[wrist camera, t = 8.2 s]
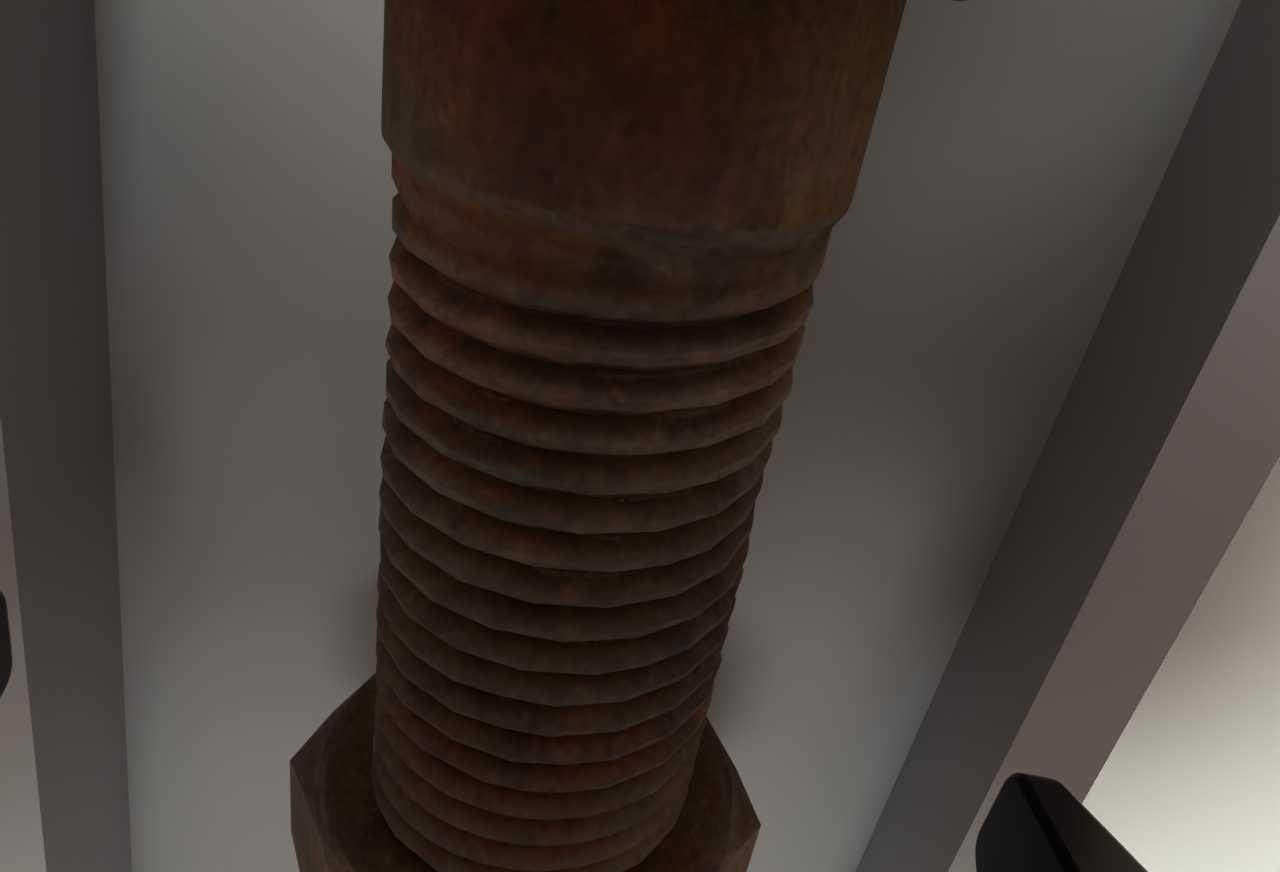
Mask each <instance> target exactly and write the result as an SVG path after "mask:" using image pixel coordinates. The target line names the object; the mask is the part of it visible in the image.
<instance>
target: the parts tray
mask: <svg viewBox="0 0 1280 872" xmlns="http://www.w3.org/2000/svg"><path fill="white" fill-rule="evenodd" d="M384 1H385V0H0V591H1V592H2V593H3V594H4V596H5V598H6V603H7V610H8V619H9V628H10V638H11V647H12V657H13V664H12V671H11V675H10V679H9V681H8V684H7V686H6V688H5V690H4V692H3V694H2V696H1V698H0V872H300V871H299V866H298V862H297V857H296V852H295V848H294V843H293V838H292V834H291V809H290V760H291V758H292V757H293V756H294V755H295V754H296V753H297V752H298V751H299V749H300V748H301V747H302V746H303V745H304V744H305V743H306V742H307V740H308V739H309V738H310V737H311V736H312V735H313V734H314V732H315V731H316V730H317V729H318V728H319V727H320V726H321V725H322V723H323V722H324V721H325V720H326V719H327V718H328V717H329V716H330V714H331V713H332V712H333V711H334V710H335V709H336V708H338V707H339V706H340V705H341V704H342V703H343V702H344V701H345V700H346V699H347V698H348V697H350V696H351V695H352V694H353V693H354V692H355V691H356V690H357V689H358V688H359V687H360V686H362V685H363V684H364V683H365V682H366V681H367V680H368V679H369V678H370V677H371V676H372V675H374V674H375V673H376V664H377V656H376V638H377V616H376V610H377V603H378V596H379V593H378V589H377V581H378V571H379V564H380V562H381V552H380V531H379V528H378V524H379V514H380V505H381V502H380V496H379V490H380V485H381V481H382V477H383V472H382V466H381V460H380V457H381V452H382V448H383V444H384V440H385V436H386V434H385V432H384V429H383V427H382V418H383V408H384V401H385V400H386V399H387V396H386V363H387V361H388V360H389V359H390V357H389V354H388V352H387V350H386V347H385V343H386V338H387V335H388V332H389V329H390V326H391V317H390V310H389V304H388V298H387V297H388V295H389V292H390V290H391V287H392V284H393V282H394V280H393V279H392V273H391V267H390V261H389V254H390V252H391V249H392V247H393V244H394V242H395V239H396V237H397V235H396V234H395V232H394V231H393V229H392V198H393V197H394V196H395V195H396V194H398V190H397V188H396V186H395V184H394V181H393V179H392V177H391V167H392V152H391V151H390V149H389V147H388V146H387V144H386V142H385V141H384V139H383V138H382V132H381V106H382V71H383V36H384ZM813 301H814V303H813V305H812V308H811V310H810V312H809V315H808V317H807V320H806V322H805V323H804V326H805V328H806V329H805V334H804V338H803V342H802V345H801V348H800V350H799V353H798V356H797V359H796V362H795V363H794V364H793V385H792V388H791V392H790V395H789V396H788V397H787V398H786V399H785V400H784V401H783V403H782V422H781V425H780V428H779V431H778V432H777V434H776V435H775V436H774V437H773V447H772V452H771V455H770V458H769V460H768V462H767V464H766V466H765V468H764V475H763V484H762V487H761V490H760V492H759V494H758V496H757V498H756V500H755V508H754V517H753V525H752V529H751V533H750V535H749V550H748V554H747V558H746V560H745V562H744V564H743V570H744V571H743V575H742V579H741V581H740V584H739V587H738V589H737V592H736V594H735V597H736V602H735V607H734V609H733V612H732V614H731V617H730V620H729V622H728V627H729V629H728V634H727V637H726V639H725V642H724V645H723V647H722V650H721V657H722V661H721V664H720V666H719V669H718V671H717V674H716V677H715V679H714V689H713V693H712V698H711V703H710V706H709V708H708V710H707V718H708V720H709V721H710V723H711V725H712V727H713V728H714V730H715V732H716V734H717V736H718V737H719V739H720V741H721V743H722V744H723V746H724V748H725V750H726V751H727V753H728V755H729V757H730V758H731V760H732V762H733V764H734V765H735V767H736V769H737V771H738V774H739V776H740V778H741V780H742V783H743V785H744V787H745V790H746V792H747V794H748V796H749V799H750V801H751V803H752V806H753V808H754V810H755V812H756V815H757V817H758V819H759V821H760V824H761V827H760V831H759V834H758V837H757V840H756V843H755V847H754V850H753V853H752V856H751V859H750V863H749V866H748V869H747V872H976V863H975V846H976V840H977V836H978V833H979V830H980V828H981V826H982V824H983V822H984V820H985V818H986V816H987V814H988V812H989V810H990V808H991V807H992V805H993V803H994V801H995V799H996V797H997V795H998V793H999V791H1000V789H1001V787H1002V785H1003V783H1004V782H1005V780H1006V779H1007V778H1008V777H1009V776H1010V775H1012V774H1013V773H1026V774H1031V775H1037V776H1042V777H1048V778H1052V779H1055V780H1057V781H1059V782H1060V783H1061V784H1062V785H1064V786H1065V787H1066V788H1067V789H1068V790H1069V791H1070V792H1071V793H1072V794H1073V795H1074V796H1075V797H1076V798H1077V800H1078V801H1079V802H1080V803H1081V804H1082V802H1083V800H1084V799H1085V797H1086V795H1087V793H1088V792H1089V790H1090V788H1091V786H1092V785H1093V783H1094V781H1095V779H1096V778H1097V776H1098V774H1099V772H1100V771H1101V769H1102V767H1103V765H1104V764H1105V762H1106V760H1107V758H1108V757H1109V755H1110V753H1111V751H1112V749H1113V748H1114V746H1115V744H1116V742H1117V741H1118V739H1119V737H1120V735H1121V734H1122V732H1123V730H1124V728H1125V727H1126V725H1127V723H1128V721H1129V720H1130V718H1131V716H1132V714H1133V713H1134V711H1135V709H1136V707H1137V706H1138V704H1139V702H1140V700H1141V699H1142V697H1143V695H1144V693H1145V691H1146V690H1147V688H1148V686H1149V684H1150V683H1151V681H1152V679H1153V677H1154V676H1155V674H1156V672H1157V670H1158V669H1159V667H1160V665H1161V663H1162V662H1163V660H1164V658H1165V656H1166V655H1167V653H1168V651H1169V649H1170V648H1171V646H1172V644H1173V642H1174V640H1175V639H1176V637H1177V635H1178V633H1179V632H1180V630H1181V628H1182V626H1183V625H1184V623H1185V621H1186V619H1187V618H1188V616H1189V614H1190V612H1191V611H1192V609H1193V607H1194V605H1195V604H1196V602H1197V600H1198V598H1199V597H1200V595H1201V593H1202V591H1203V590H1204V588H1205V586H1206V584H1207V582H1208V581H1209V579H1210V577H1211V575H1212V574H1213V572H1214V570H1215V568H1216V567H1217V565H1218V563H1219V561H1220V560H1221V558H1222V556H1223V554H1224V553H1225V551H1226V549H1227V547H1228V546H1229V544H1230V542H1231V540H1232V539H1233V537H1234V535H1235V533H1236V531H1237V530H1238V528H1239V526H1240V524H1241V523H1242V521H1243V519H1244V517H1245V516H1246V514H1247V512H1248V510H1249V509H1250V507H1251V505H1252V503H1253V502H1254V500H1255V498H1256V496H1257V495H1258V493H1259V491H1260V489H1261V488H1262V486H1263V484H1264V482H1265V481H1266V479H1267V477H1268V475H1269V473H1270V472H1271V470H1272V468H1273V466H1274V465H1275V463H1276V461H1277V459H1278V458H1279V456H1280V0H968V1H961V2H958V1H951V0H907V1H906V5H905V8H904V12H903V16H902V19H901V23H900V27H899V31H898V34H897V38H896V42H895V45H894V49H893V53H892V56H891V60H890V64H889V67H888V71H887V75H886V78H885V82H884V86H883V90H882V93H881V97H880V101H879V104H878V108H877V112H876V115H875V119H874V123H873V126H872V130H871V134H870V137H869V141H868V145H867V149H866V152H865V156H864V160H863V163H862V167H861V171H860V174H859V178H858V182H857V185H856V189H855V193H854V196H853V200H852V203H851V205H850V207H849V209H848V211H847V213H846V214H845V215H844V216H843V217H842V218H841V219H840V220H839V221H838V222H837V223H836V224H835V225H834V226H833V227H832V231H831V235H830V239H829V243H828V247H827V250H826V254H825V258H824V262H823V266H822V268H821V270H820V272H819V275H818V277H817V279H816V280H815V281H814V282H813Z"/></svg>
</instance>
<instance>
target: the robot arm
mask: <svg viewBox="0 0 1280 872" xmlns="http://www.w3.org/2000/svg"><path fill="white" fill-rule="evenodd" d="M12 664H13V657H12V647H11V638H10V628H9V619H8V610H7V603H6V598H5V596H4V594H3V593H2V592H1V591H0V698H1V696H2V694H3V692H4V690H5V688H6V686H7V684H8V681H9V679H10V675H11V671H12ZM975 863H976V872H1148V871H1147V870H1146V869H1145V868H1144V867H1143V866H1142V865H1141V864H1140V863H1139V862H1138V861H1137V860H1136V859H1135V858H1134V857H1133V856H1132V855H1131V854H1130V853H1129V852H1128V851H1127V850H1126V849H1125V848H1124V847H1123V846H1122V845H1121V844H1120V843H1119V842H1118V841H1117V840H1116V839H1115V837H1114V836H1113V835H1112V834H1111V833H1110V832H1109V831H1108V830H1107V829H1106V828H1105V827H1104V826H1103V825H1102V824H1101V823H1100V822H1099V821H1098V820H1097V819H1096V818H1095V817H1094V816H1093V815H1092V814H1091V813H1090V812H1089V811H1088V810H1087V809H1086V808H1085V807H1084V806H1083V805H1082V804H1081V803H1080V802H1079V801H1078V800H1077V798H1076V797H1075V796H1074V795H1073V794H1072V793H1071V792H1070V791H1069V790H1068V789H1067V788H1066V787H1065V786H1064V785H1062V784H1061V783H1060V782H1059V781H1057V780H1055V779H1052V778H1048V777H1042V776H1037V775H1031V774H1026V773H1013V774H1012V775H1010V776H1009V777H1008V778H1007V779H1006V780H1005V782H1004V783H1003V785H1002V787H1001V789H1000V791H999V793H998V795H997V797H996V799H995V801H994V803H993V805H992V807H991V808H990V810H989V812H988V814H987V816H986V818H985V820H984V822H983V824H982V826H981V828H980V830H979V833H978V836H977V840H976V846H975Z"/></svg>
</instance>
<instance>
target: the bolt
mask: <svg viewBox="0 0 1280 872" xmlns="http://www.w3.org/2000/svg"><path fill="white" fill-rule="evenodd" d="M906 1H907V0H385V1H384V36H383V71H382V106H381V132H382V138H383V139H384V141H385V142H386V144H387V146H388V147H389V149H390V151H391V152H392V167H391V177H392V179H393V181H394V184H395V186H396V188H397V190H398V194H396V195H395V196H394V197H393V198H392V229H393V231H394V232H395V234H396V235H397V237H396V239H395V242H394V244H393V247H392V249H391V252H390V254H389V261H390V267H391V273H392V279H393V280H394V282H393V284H392V287H391V290H390V292H389V295H388V297H387V298H388V304H389V310H390V317H391V326H390V329H389V332H388V335H387V338H386V343H385V347H386V350H387V352H388V354H389V357H390V359H389V360H388V361H387V363H386V396H387V399H386V400H385V401H384V408H383V418H382V427H383V429H384V432H385V434H386V436H385V440H384V444H383V448H382V452H381V457H380V460H381V466H382V472H383V477H382V481H381V485H380V490H379V496H380V502H381V505H380V514H379V524H378V528H379V531H380V552H381V562H380V564H379V571H378V581H377V589H378V593H379V596H378V603H377V610H376V616H377V638H376V656H377V664H376V673H375V674H374V675H372V676H371V677H370V678H369V679H368V680H367V681H366V682H365V683H364V684H363V685H362V686H360V687H359V688H358V689H357V690H356V691H355V692H354V693H353V694H352V695H351V696H350V697H348V698H347V699H346V700H345V701H344V702H343V703H342V704H341V705H340V706H339V707H338V708H336V709H335V710H334V711H333V712H332V713H331V714H330V716H329V717H328V718H327V719H326V720H325V721H324V722H323V723H322V725H321V726H320V727H319V728H318V729H317V730H316V731H315V732H314V734H313V735H312V736H311V737H310V738H309V739H308V740H307V742H306V743H305V744H304V745H303V746H302V747H301V748H300V749H299V751H298V752H297V753H296V754H295V755H294V756H293V757H292V758H291V760H290V809H291V834H292V838H293V843H294V848H295V852H296V857H297V862H298V866H299V871H300V872H747V869H748V866H749V863H750V859H751V856H752V853H753V850H754V847H755V843H756V840H757V837H758V834H759V831H760V827H761V824H760V821H759V819H758V817H757V815H756V812H755V810H754V808H753V806H752V803H751V801H750V799H749V796H748V794H747V792H746V790H745V787H744V785H743V783H742V780H741V778H740V776H739V774H738V771H737V769H736V767H735V765H734V764H733V762H732V760H731V758H730V757H729V755H728V753H727V751H726V750H725V748H724V746H723V744H722V743H721V741H720V739H719V737H718V736H717V734H716V732H715V730H714V728H713V727H712V725H711V723H710V721H709V720H708V718H707V710H708V708H709V706H710V703H711V698H712V693H713V689H714V679H715V677H716V674H717V671H718V669H719V666H720V664H721V661H722V657H721V650H722V647H723V645H724V642H725V639H726V637H727V634H728V629H729V627H728V622H729V620H730V617H731V614H732V612H733V609H734V607H735V602H736V597H735V594H736V592H737V589H738V587H739V584H740V581H741V579H742V575H743V571H744V570H743V564H744V562H745V560H746V558H747V554H748V550H749V535H750V533H751V529H752V525H753V517H754V508H755V500H756V498H757V496H758V494H759V492H760V490H761V487H762V484H763V475H764V468H765V466H766V464H767V462H768V460H769V458H770V455H771V452H772V447H773V437H774V436H775V435H776V434H777V432H778V431H779V428H780V425H781V422H782V403H783V401H784V400H785V399H786V398H787V397H788V396H789V395H790V392H791V388H792V385H793V364H794V363H795V362H796V359H797V356H798V353H799V350H800V348H801V345H802V342H803V338H804V334H805V329H806V328H805V326H804V323H805V322H806V320H807V317H808V315H809V312H810V310H811V308H812V305H813V303H814V301H813V282H814V281H815V280H816V279H817V277H818V275H819V272H820V270H821V268H822V266H823V262H824V258H825V254H826V250H827V247H828V243H829V239H830V235H831V231H832V227H833V226H834V225H835V224H836V223H837V222H838V221H839V220H840V219H841V218H842V217H843V216H844V215H845V214H846V213H847V211H848V209H849V207H850V205H851V203H852V200H853V196H854V193H855V189H856V185H857V182H858V178H859V174H860V171H861V167H862V163H863V160H864V156H865V152H866V149H867V145H868V141H869V137H870V134H871V130H872V126H873V123H874V119H875V115H876V112H877V108H878V104H879V101H880V97H881V93H882V90H883V86H884V82H885V78H886V75H887V71H888V67H889V64H890V60H891V56H892V53H893V49H894V45H895V42H896V38H897V34H898V31H899V27H900V23H901V19H902V16H903V12H904V8H905V5H906ZM951 1H958V2H961V1H968V0H951Z"/></svg>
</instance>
